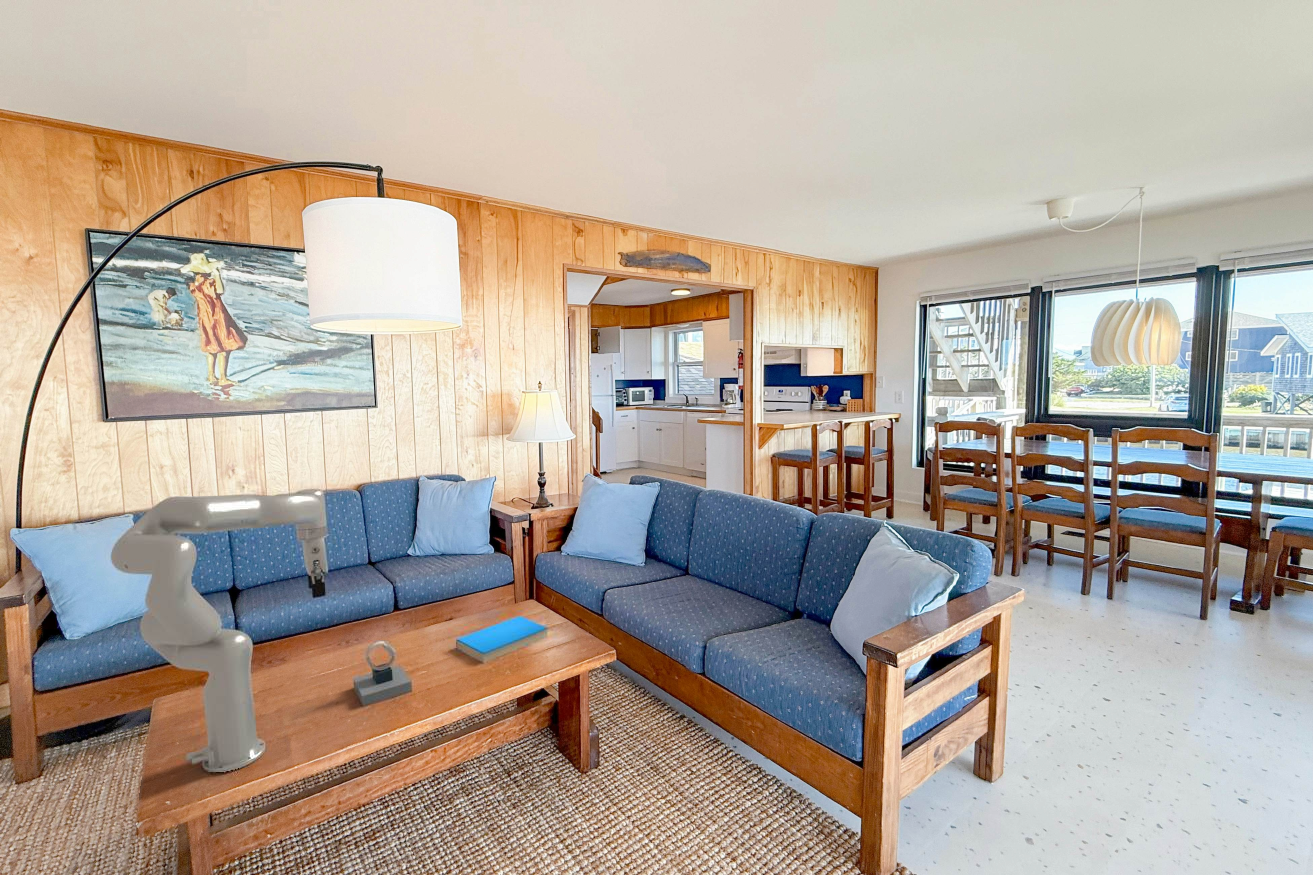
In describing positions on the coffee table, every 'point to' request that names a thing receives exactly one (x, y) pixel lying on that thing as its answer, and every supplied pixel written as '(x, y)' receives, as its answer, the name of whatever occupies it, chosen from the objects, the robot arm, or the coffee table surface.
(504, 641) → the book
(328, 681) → the coffee table surface
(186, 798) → the coffee table surface
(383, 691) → the plinth
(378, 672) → the watch
